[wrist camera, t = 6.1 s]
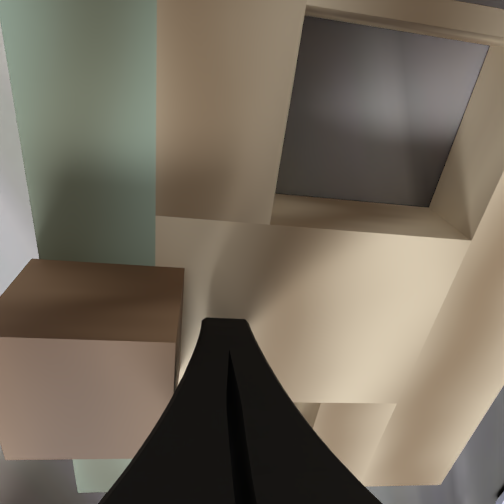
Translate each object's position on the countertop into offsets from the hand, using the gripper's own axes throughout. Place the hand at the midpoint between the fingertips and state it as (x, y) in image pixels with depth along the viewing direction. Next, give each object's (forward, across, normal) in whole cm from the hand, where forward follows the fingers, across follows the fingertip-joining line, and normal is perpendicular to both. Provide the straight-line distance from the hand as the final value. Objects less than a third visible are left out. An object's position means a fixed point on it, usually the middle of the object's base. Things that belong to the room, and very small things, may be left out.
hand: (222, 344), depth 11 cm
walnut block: (+1, +3, 0) cm, 3 cm away
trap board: (+3, -3, 0) cm, 5 cm away
